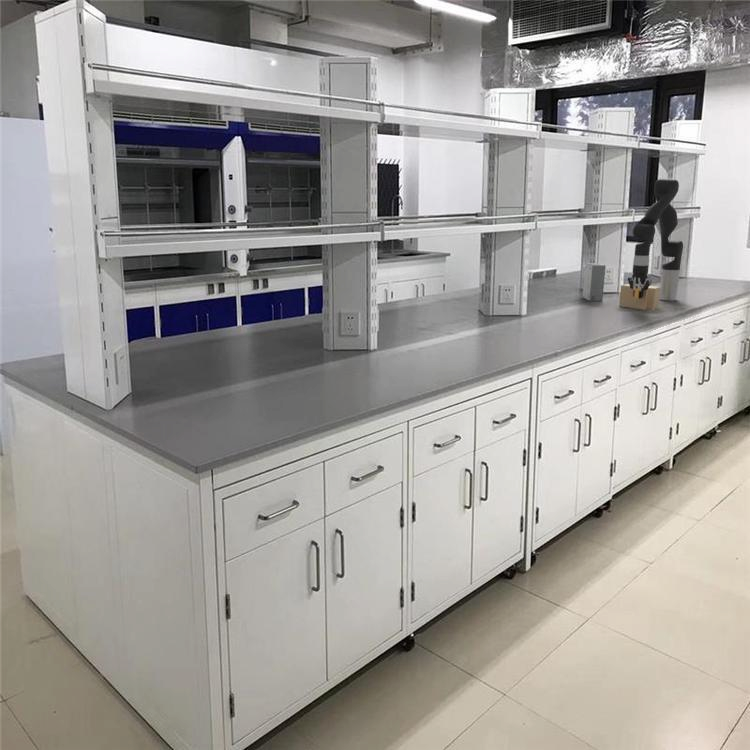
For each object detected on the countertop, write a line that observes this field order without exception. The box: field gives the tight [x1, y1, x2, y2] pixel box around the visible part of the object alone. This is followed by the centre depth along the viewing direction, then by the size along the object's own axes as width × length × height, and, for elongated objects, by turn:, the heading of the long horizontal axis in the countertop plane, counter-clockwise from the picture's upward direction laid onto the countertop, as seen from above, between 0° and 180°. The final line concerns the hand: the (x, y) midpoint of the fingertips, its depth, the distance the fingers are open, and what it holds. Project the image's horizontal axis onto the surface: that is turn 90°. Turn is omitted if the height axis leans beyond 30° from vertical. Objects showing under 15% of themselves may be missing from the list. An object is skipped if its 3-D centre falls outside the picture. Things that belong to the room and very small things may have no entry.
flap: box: [618, 284, 648, 311], centre depth 374 cm, size 5×16×11 cm, turn 33°
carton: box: [619, 283, 661, 311], centre depth 380 cm, size 9×18×11 cm, turn 52°
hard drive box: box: [582, 262, 607, 302], centre depth 405 cm, size 16×8×20 cm, turn 179°
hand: (637, 297), depth 369 cm, fingers closed on flap, 2 cm apart
